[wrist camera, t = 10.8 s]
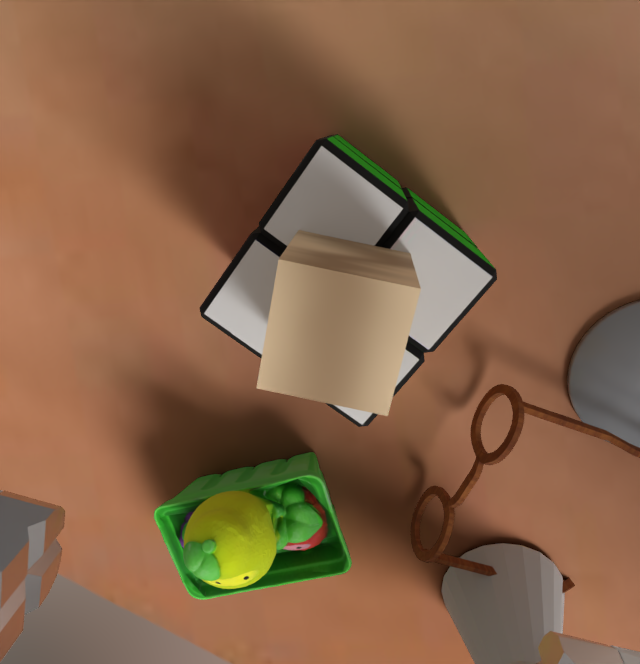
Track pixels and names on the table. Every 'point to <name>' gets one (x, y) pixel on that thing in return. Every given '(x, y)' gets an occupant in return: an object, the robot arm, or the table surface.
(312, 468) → the fruit basket
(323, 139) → the puzzle cube
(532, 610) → the lava lamp
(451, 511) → the bent wire
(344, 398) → the oak block
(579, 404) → the slate coaster
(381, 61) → the table surface
